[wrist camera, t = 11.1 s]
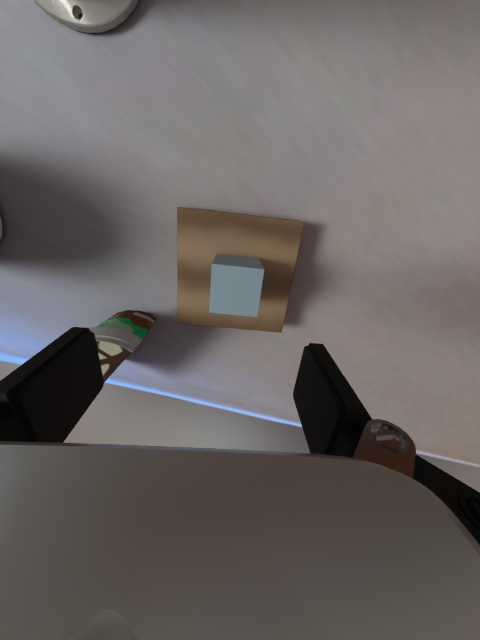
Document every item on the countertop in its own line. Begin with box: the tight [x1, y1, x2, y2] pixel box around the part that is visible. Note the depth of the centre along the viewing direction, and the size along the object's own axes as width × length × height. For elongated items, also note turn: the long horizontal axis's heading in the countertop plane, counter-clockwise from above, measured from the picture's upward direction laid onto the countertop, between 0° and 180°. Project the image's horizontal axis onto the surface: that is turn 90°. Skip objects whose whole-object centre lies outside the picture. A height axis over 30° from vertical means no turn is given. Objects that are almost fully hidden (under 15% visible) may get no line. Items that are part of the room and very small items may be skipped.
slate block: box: [209, 254, 264, 317], centre depth 26 cm, size 5×5×6 cm
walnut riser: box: [177, 207, 304, 333], centre depth 30 cm, size 14×14×3 cm
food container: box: [89, 310, 156, 382], centre depth 30 cm, size 12×6×10 cm, turn 137°
